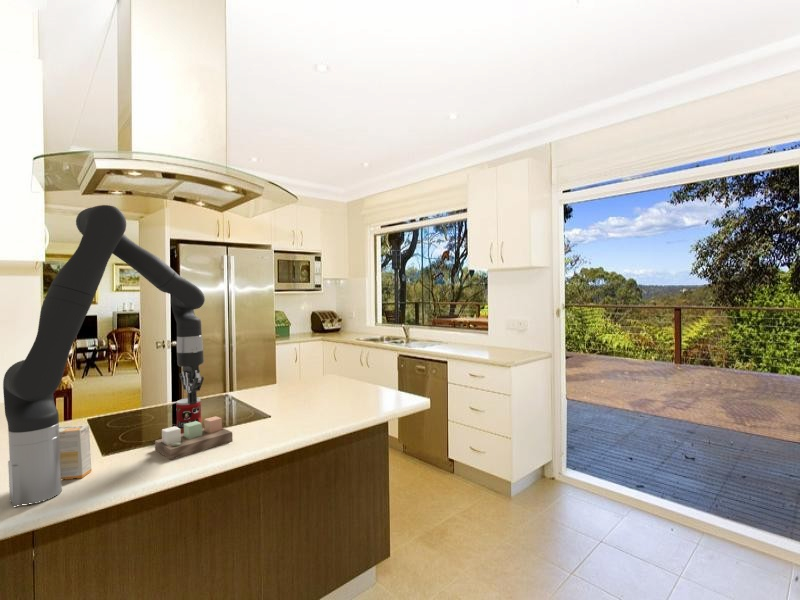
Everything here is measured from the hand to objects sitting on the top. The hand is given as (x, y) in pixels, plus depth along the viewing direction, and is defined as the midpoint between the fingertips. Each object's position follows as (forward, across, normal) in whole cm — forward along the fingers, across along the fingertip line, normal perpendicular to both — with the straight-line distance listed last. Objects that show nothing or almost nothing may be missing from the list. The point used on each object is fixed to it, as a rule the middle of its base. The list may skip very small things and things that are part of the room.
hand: (192, 403), depth 134 cm
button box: (+13, +1, 0) cm, 13 cm away
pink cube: (+10, 0, +6) cm, 12 cm away
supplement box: (+13, -3, -31) cm, 34 cm away
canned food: (+14, -15, +5) cm, 21 cm away
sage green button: (+10, 0, 0) cm, 10 cm away
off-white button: (+10, 0, -7) cm, 12 cm away
